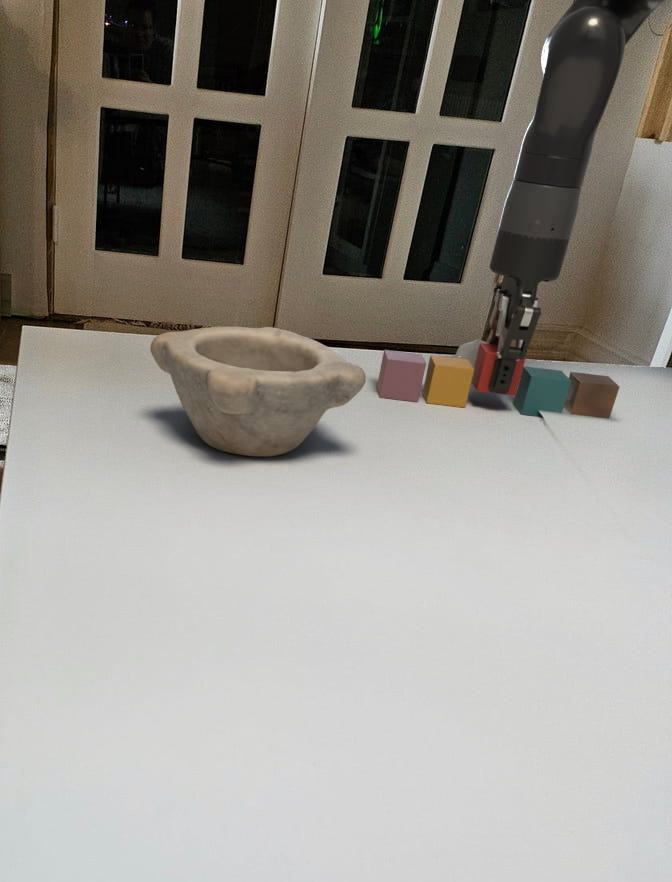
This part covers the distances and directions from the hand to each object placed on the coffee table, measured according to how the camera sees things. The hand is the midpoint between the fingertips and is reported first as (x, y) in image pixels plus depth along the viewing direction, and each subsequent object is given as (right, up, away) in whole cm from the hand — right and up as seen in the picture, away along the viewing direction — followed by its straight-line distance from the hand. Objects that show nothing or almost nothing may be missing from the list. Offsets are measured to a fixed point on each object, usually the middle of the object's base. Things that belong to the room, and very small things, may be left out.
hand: (493, 385), depth 110 cm
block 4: (+11, -4, +1) cm, 11 cm away
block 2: (-6, -1, +1) cm, 6 cm away
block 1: (-11, -1, +2) cm, 11 cm away
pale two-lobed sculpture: (+1, +6, +15) cm, 16 cm away
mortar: (-30, -11, -18) cm, 37 cm away
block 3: (+5, -3, +1) cm, 6 cm away
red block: (0, 0, 0) cm, 0 cm away
